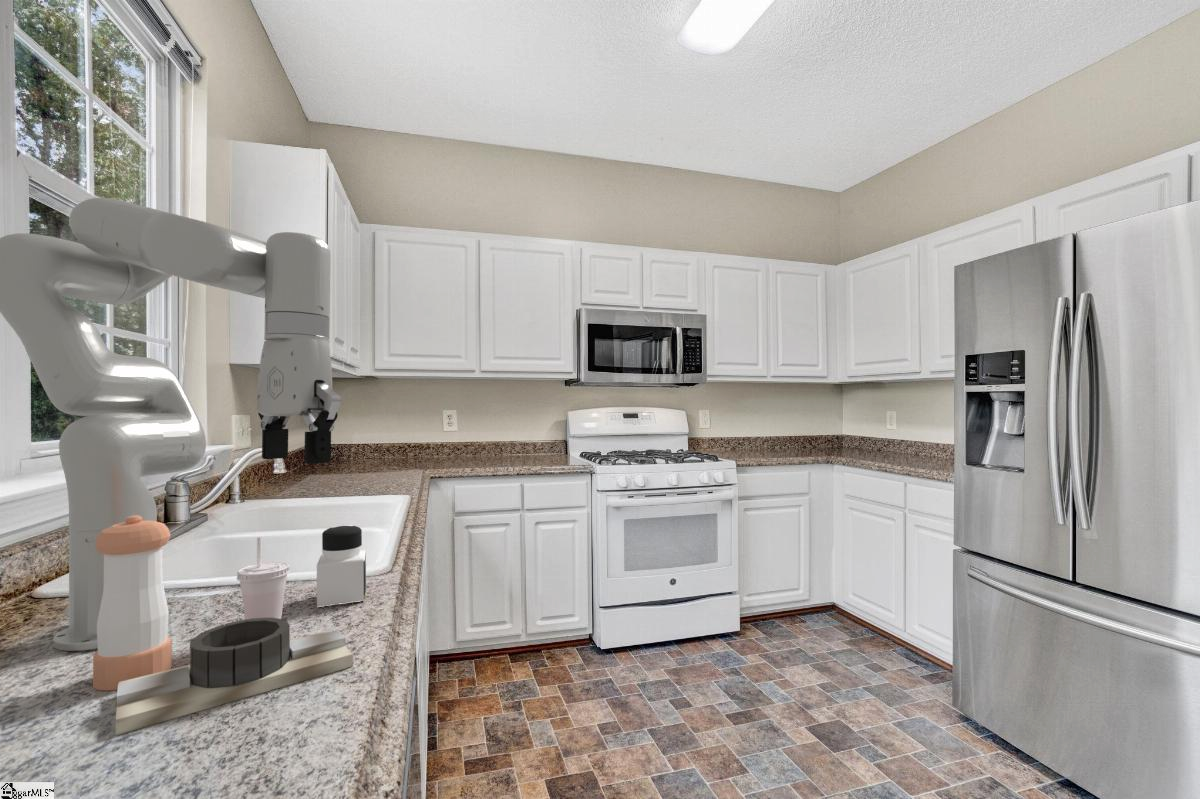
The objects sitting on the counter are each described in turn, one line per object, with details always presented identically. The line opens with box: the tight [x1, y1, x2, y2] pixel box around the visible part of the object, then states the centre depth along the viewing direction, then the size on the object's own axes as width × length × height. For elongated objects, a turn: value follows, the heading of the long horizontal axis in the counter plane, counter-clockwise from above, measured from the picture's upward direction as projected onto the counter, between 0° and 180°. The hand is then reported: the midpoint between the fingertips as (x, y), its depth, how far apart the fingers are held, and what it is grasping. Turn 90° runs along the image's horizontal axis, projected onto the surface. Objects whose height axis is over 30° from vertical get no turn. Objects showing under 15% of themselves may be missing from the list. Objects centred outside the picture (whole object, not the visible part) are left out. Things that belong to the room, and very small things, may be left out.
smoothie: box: [236, 536, 291, 620], centre depth 78 cm, size 6×6×14 cm
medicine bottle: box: [316, 524, 367, 607], centre depth 93 cm, size 7×7×12 cm
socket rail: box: [115, 617, 354, 736], centre depth 65 cm, size 22×10×6 cm, turn 130°
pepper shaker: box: [92, 515, 173, 692], centre depth 67 cm, size 7×7×19 cm
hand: (295, 460), depth 73 cm, fingers open, 9 cm apart
